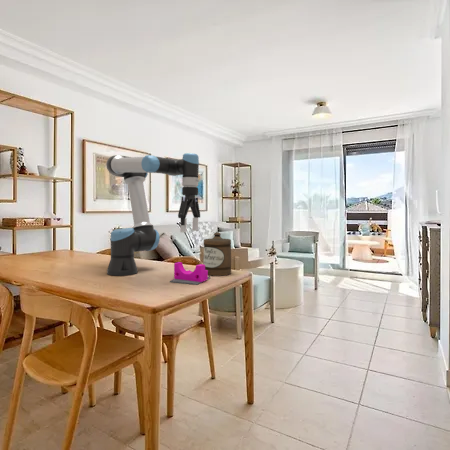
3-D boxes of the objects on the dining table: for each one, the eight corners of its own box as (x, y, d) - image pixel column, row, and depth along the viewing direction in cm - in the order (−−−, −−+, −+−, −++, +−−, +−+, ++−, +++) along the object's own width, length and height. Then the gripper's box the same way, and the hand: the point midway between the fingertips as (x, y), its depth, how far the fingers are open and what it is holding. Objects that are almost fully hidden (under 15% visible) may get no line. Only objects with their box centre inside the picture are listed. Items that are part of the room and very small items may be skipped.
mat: (169, 282, 151) (169, 281, 151) (184, 275, 166) (184, 274, 166) (197, 284, 146) (197, 283, 146) (210, 278, 162) (210, 276, 162)
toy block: (207, 279, 155) (207, 263, 155) (200, 282, 150) (201, 265, 149) (181, 276, 162) (181, 261, 162) (174, 278, 156) (174, 263, 156)
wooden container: (197, 273, 172) (198, 232, 171) (214, 269, 185) (214, 230, 184) (220, 277, 164) (221, 233, 163) (236, 272, 176) (237, 232, 175)
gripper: (186, 184, 141) (185, 233, 142) (207, 188, 165) (206, 230, 166) (170, 184, 143) (170, 232, 145) (193, 188, 167) (192, 229, 168)
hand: (189, 231), depth 155 cm, fingers open, 13 cm apart
